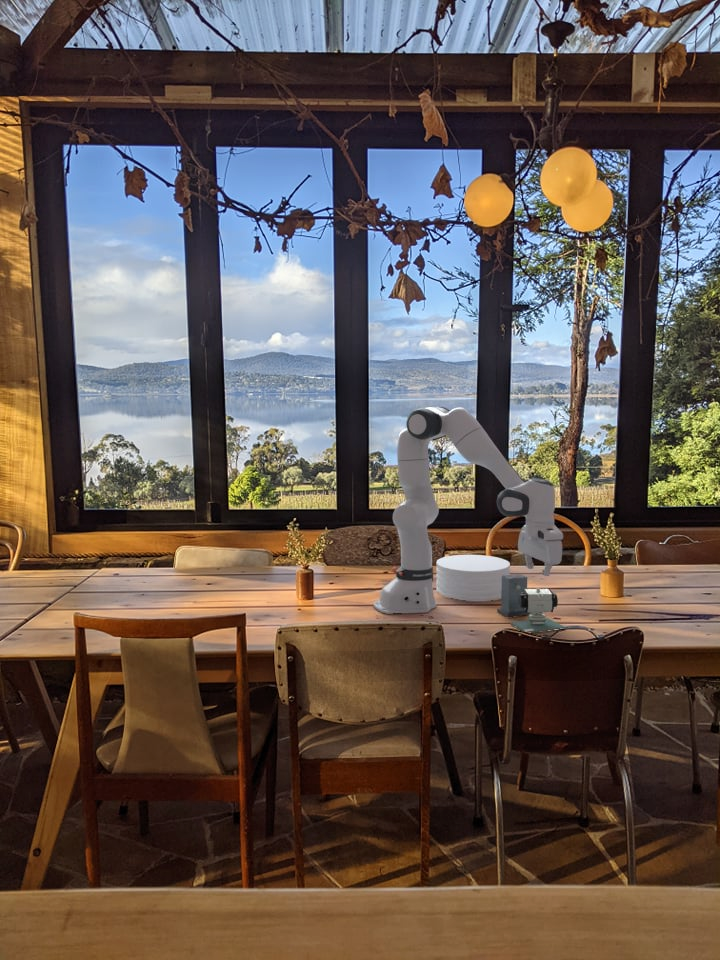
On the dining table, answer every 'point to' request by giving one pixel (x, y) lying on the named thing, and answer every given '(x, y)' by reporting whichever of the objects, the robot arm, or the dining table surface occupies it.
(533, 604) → the pneumatic valve
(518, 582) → the block
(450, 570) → the plate stack
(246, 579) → the dining table surface
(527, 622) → the mat
